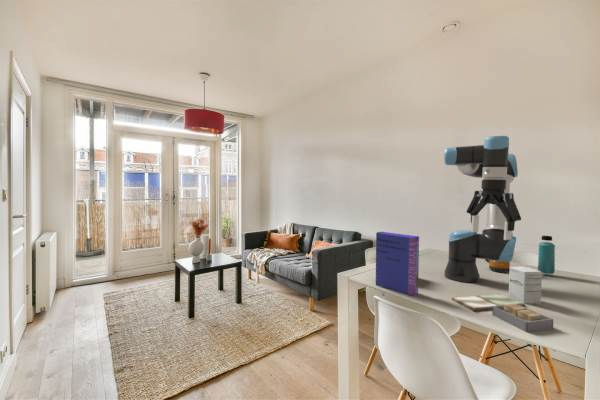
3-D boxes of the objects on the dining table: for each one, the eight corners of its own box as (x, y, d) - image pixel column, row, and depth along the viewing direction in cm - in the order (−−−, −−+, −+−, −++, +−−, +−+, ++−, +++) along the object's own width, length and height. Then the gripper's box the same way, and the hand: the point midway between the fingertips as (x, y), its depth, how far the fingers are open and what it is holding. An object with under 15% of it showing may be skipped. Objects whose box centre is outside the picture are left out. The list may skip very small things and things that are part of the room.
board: (451, 300, 111) (451, 297, 111) (498, 296, 116) (498, 293, 116) (474, 313, 101) (474, 308, 100) (525, 307, 105) (525, 303, 105)
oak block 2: (517, 322, 92) (517, 310, 92) (527, 321, 93) (528, 309, 93) (529, 328, 88) (530, 316, 88) (540, 327, 89) (540, 314, 89)
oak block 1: (503, 316, 97) (503, 304, 97) (513, 315, 98) (513, 303, 98) (514, 321, 93) (515, 309, 93) (524, 320, 94) (525, 308, 94)
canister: (510, 274, 146) (511, 235, 146) (484, 270, 152) (485, 233, 151) (508, 269, 154) (509, 232, 153) (484, 266, 160) (485, 231, 159)
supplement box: (507, 297, 115) (508, 266, 114) (524, 296, 116) (525, 266, 115) (523, 305, 108) (524, 271, 107) (541, 304, 108) (542, 271, 108)
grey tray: (492, 316, 98) (492, 306, 98) (516, 313, 100) (516, 303, 100) (526, 333, 86) (526, 322, 86) (553, 330, 88) (553, 319, 88)
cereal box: (418, 293, 120) (419, 236, 119) (412, 296, 116) (413, 237, 115) (381, 282, 133) (382, 231, 132) (375, 285, 129) (376, 232, 129)
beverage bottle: (557, 277, 141) (559, 237, 140) (542, 276, 142) (543, 236, 142) (549, 273, 147) (550, 235, 147) (534, 272, 149) (535, 234, 148)
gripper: (458, 178, 117) (455, 229, 119) (520, 179, 93) (515, 244, 95) (473, 178, 119) (470, 228, 121) (537, 179, 95) (532, 242, 97)
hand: (490, 235), depth 108 cm, fingers open, 13 cm apart
